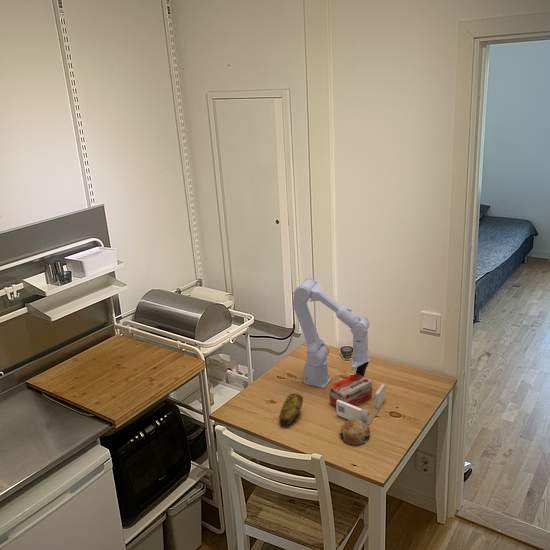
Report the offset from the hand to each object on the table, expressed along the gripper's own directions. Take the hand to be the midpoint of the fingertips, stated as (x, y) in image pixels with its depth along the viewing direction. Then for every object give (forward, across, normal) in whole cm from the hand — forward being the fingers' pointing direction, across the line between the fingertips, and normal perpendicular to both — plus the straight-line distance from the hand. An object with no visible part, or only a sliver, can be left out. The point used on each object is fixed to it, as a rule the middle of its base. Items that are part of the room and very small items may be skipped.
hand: (360, 378), depth 230 cm
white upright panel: (+5, -14, -10) cm, 18 cm away
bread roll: (+5, -30, -9) cm, 32 cm away
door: (+4, -21, -4) cm, 22 cm away
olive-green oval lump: (+5, -29, +16) cm, 34 cm away
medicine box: (+5, -10, 0) cm, 11 cm away
